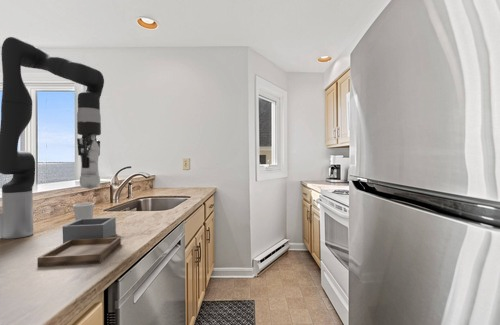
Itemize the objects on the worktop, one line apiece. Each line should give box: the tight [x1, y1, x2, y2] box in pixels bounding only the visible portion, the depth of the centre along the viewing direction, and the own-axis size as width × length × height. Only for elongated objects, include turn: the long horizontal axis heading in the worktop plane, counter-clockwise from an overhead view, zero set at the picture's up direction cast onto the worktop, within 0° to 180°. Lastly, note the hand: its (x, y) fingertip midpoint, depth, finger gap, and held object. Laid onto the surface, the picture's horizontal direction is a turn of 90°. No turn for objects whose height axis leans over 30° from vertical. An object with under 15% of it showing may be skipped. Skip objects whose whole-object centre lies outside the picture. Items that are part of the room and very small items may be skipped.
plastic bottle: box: [79, 135, 101, 190], centre depth 104 cm, size 6×7×20 cm
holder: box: [62, 217, 117, 244], centre depth 104 cm, size 13×13×6 cm
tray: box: [37, 236, 122, 268], centre depth 87 cm, size 16×18×2 cm
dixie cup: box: [72, 202, 95, 221], centre depth 126 cm, size 8×8×10 cm
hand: (89, 167), depth 104 cm, fingers closed on plastic bottle, 6 cm apart
